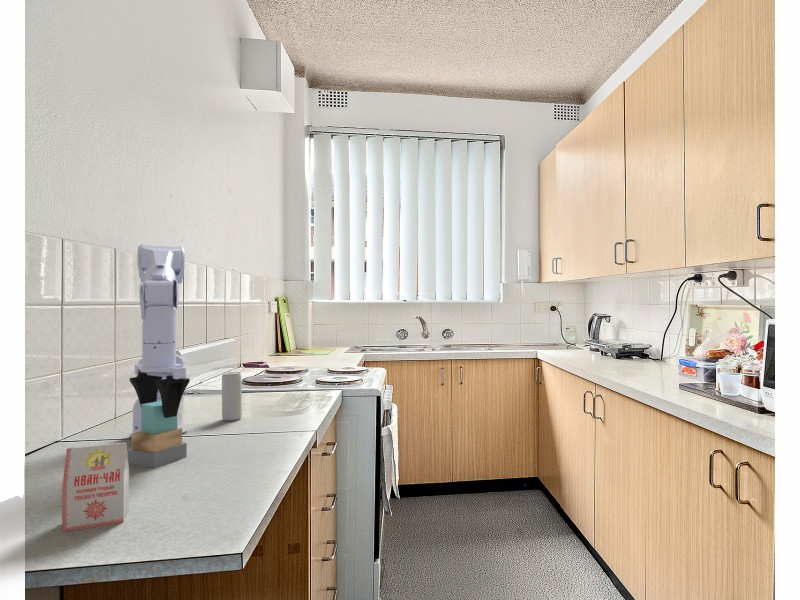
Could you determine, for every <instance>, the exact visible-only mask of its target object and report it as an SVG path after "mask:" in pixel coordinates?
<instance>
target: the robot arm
mask: <svg viewBox="0 0 800 600" xmlns="http://www.w3.org/2000/svg"><path fill="white" fill-rule="evenodd" d="M136 256H137V260H136V261H137V269H138V278H139V279H140V283H139V284H140V285H139V290H138V291H139V292H138V293H139V298H138V299H139V306H140V313H141V314H140V316H141V317H140V318H141V320H142V323H141V324H142V325H141V326H142V327H141V328H142V330H141V331H142V333H141V334H142V337H141V338H142V339H141V342H142V345H141V346H142V347H141V350H142V352H141V354H142V355H141V359H140V360H139V361H138V363H137V364H134V375H136V376H134V377H130V378H129V382H130V384H131V385H132V387H133V388H134V390H135V393H136V395H137V399H136V400H135V402H134V404H133V407H132V433H134V432H138V431H141V404H146V403H152V402H158V401H162V410H163V415H164V418H169V417H174V416H177V427H178V428H180V423H179V417H180V413H179V412H180V411H179V410H180V405H181V401H182V399H183V395H184V393H185V390H186V388H187V386H189V384H190V383H191V382H190V381H191V380H190V377H189V378H188V377H187V367H185V361H184V360H183V358H182V357H181V356H180V355H178V354H177V311H176V310H178V307H179V285H181V284H182V283H183V279H184V278H185V275H184V271H185V248H184V247H183V246H182V245H180V246H172V245H171V246H170V245H149V244H148V245H147V244H145V245H144V244H142V243H140V244H139V246H137V255H136ZM175 309H176V310H175ZM188 431H189V430H188V429H184V428H182V434H184V433H188ZM132 433H130V434H129V435H128V437H129V438H130V437H131V438H132Z"/></svg>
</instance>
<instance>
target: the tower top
mask: <svg viewBox="0 0 800 600" xmlns="http://www.w3.org/2000/svg"><path fill="white" fill-rule="evenodd" d="M182 429H183V428H182V427H179V428H178V427H177V429H175V430H171V431H166V432H161V433H157V434H150V433H147V432H143V431H138V432H134V433H133V432H132V433H131V434H132V437H131V448H132V450H139V451H147V452H155V453H156V452H159V451H162V450H165V449H168V448H171V447H174V446H177V445H180V444H182V443H183V433H182Z"/></svg>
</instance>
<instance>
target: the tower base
mask: <svg viewBox="0 0 800 600" xmlns="http://www.w3.org/2000/svg"><path fill="white" fill-rule="evenodd" d="M187 444H188V443H187V442H182V444H180V445H177V446H174V447H171V448H168V449H165V450H162V451H159V452H156V453H155V452H147V451H139V450H132V447H131V448H129V449H128V448H127V455H128V464H129V465H134V466H140V467H144V468H151V469H156V468H159V467H161V466H162V467H163V466H165V465H167V464H171V463H173V462H176V461H178V460H182V459H185V458H187V455H188V454H187V451H188V450H187Z"/></svg>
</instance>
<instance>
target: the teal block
mask: <svg viewBox="0 0 800 600" xmlns="http://www.w3.org/2000/svg"><path fill="white" fill-rule="evenodd" d="M175 429H177V416H174V417H169V418H164V415H163V410H162V401H158V402H152V403H146V404H141V431H143V432H147V433H150V434H157V433H161V432H166V431H171V430H175Z"/></svg>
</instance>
